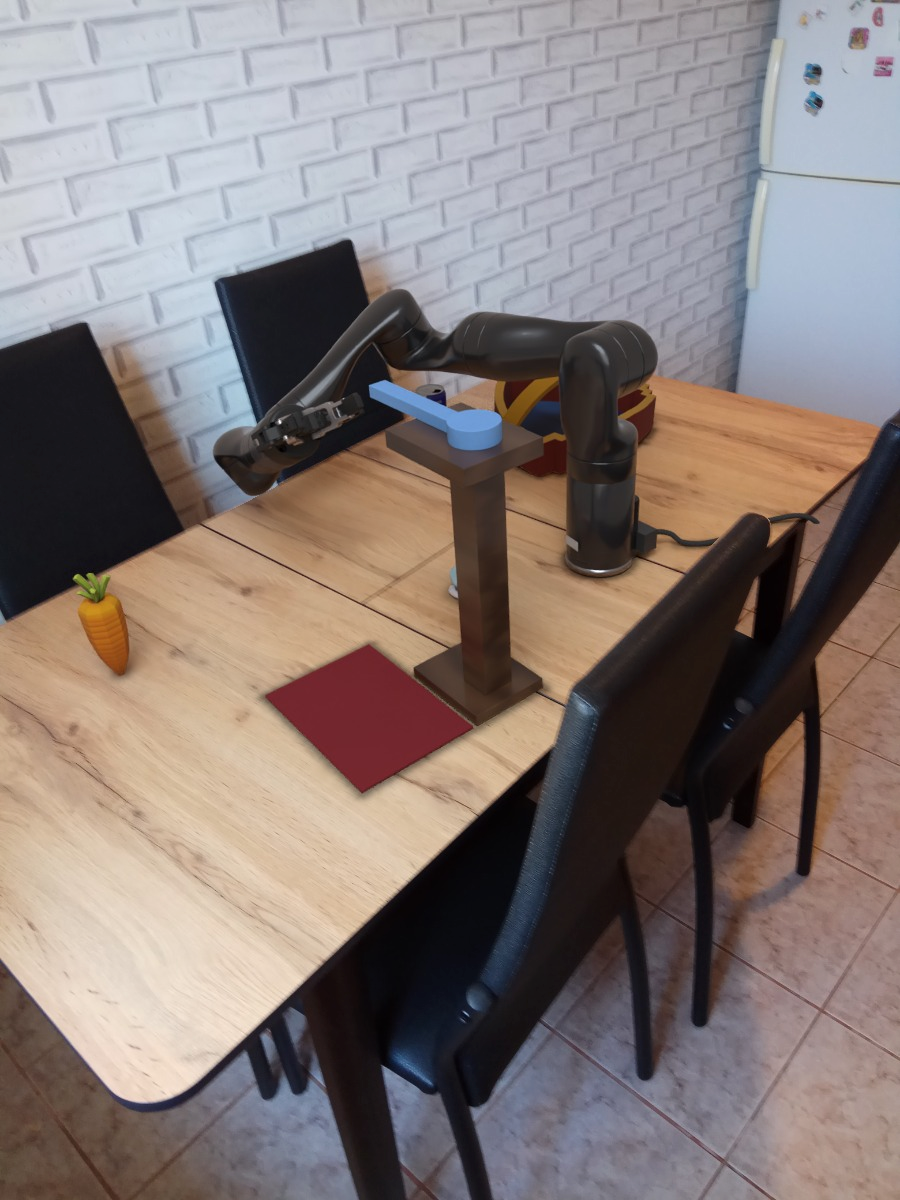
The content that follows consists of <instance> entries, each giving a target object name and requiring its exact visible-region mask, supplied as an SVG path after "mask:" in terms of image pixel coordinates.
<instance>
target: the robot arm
mask: <svg viewBox="0 0 900 1200" xmlns="http://www.w3.org/2000/svg"><path fill="white" fill-rule="evenodd" d="M371 344H372V345H373V346H374V347H375V349H376V351H377V353H378V354H379V355H380V357H381V359H382V360H383V361H384V362H385V363H386V364H387V365H388V366H389V367H390V368H392V369H395V370H398V371H406V372H440V373H448V374H454V375H455V374H457V375H464V376H469V377H470V376H471V377H474V378H479V379H485V380H491V381H494V382H495V381H496V382H497V381H504V382H517V381H528V380H537V379H544V378H551V377H558V381H559V400H560V419H561V425H562V429H563V432H564V435H565V437H566V442H567V454H566V472H565V473H566V475H565V477H566V479H565V480H566V481H565V486H566V487H565V488H566V489H565V492H566V493H565V494H566V495H565V496H566V497H565V551H564V561H565V564H566V566H567V567H568V568H569V569H571V570H572V571H573V572H575V573H577V574H578V575H579V574H580V575H583V576H586V577H595V578H605V577H606V578H607V577H612V576H616V575H620V574H622V573H624V572H625V571H627V570H629V568H630V567H631V565H632V564H633V559H634V558H636V557H637V554H638V553H637V552H639V553H641V554H642V555H645V554H648V553H649V552H651V551H654V550H655V549H656V548H657V542H658V541H657V539H658V535H661V536H667V537H670V538H672V539H673V540H674V541H675V542H676V543H677V544H678V545H681V546H686V547H696V548H697V547H707V546H712V544H713V543H714V542H715V541H716V540H717V539H718V538H719V537H716V538H711V539H705V540H690V539H689V540H688V539H683V538H681V537H680V536H679V535H678V534H677V533H675V532H674V531H672V530H669V529H664V528H656V527H654V526H652V525H650V524H647V523H646V522H643V521H642V520H639V516H640V501H641V500H640V496H639V495H638V494H636V483H637V462H638V448H639V447H638V446H639V442H638V431H637V429H636V427H635V426H634V425H633V424H632V423H631V422H629V421H627V420H624V419H622V418H618V399H619V398H621V397H623V396H625V395H627V394H630V393H632V392H634V391H636V390H637V389H639V388H640V387H641V386H643V385H644V384H645V383H646V384H647V383H648V382H649V380H650V379H652V377H653V375H654V374H655V371H656V370H657V367H658V363H659V353H658V352H659V351H658V348H657V346H656V343H655V341H654V339H653V338H652V336H651V335H650V334H649V333H648V332H647V331H646V330H645V329H644V328H643V327H641V326H640V325H638V324H637V323H635V322H633V321H629V320H626V319H607V320H591V321H588V320H587V321H586V320H585V321H567V320H559V319H553V318H552V319H551V318H546V317H538V316H529V315H520V314H513V313H507V312H498V311H475V312H473V313H470V314H468V315H467V316H465V317H463V318H462V319H461V320H460V321H459V322H457V324H456V325H455V326H454V327H453V328H452V330H451V331H450V332H448V333H447V332H443V331H439V330H437V329H435V328H434V326H432V324H431V323H430V322H429V319H428V318H427V316H426V315H425V313H424V311H423V310H422V308H421V307H420V305H419V303H418V302H417V300H416V298H415V297H414V295H413V294H412V293H411V292H410V291H409V290H407V289H404V288H395V289H394V288H393V289H390V290H387V291H386V292H383V293H382V294H381V295H379V296H377V297H376V298H375V299H374V300H373V301H371V302H370V303H369V304H368V306H366V308H364V310H362V311H361V313H359V315H358V316H357V318H355V320H354V321H353V322H352V323H351V324H350V325H349V327H348V328H347V329H346V330H345V331H344V332H343V333H342V335H340V337H339V338H338V339H337V341H336V342H335V343H334V344H333V345H332V347H331V349H329V350H328V352H327V353H326V354H325V356H323V357H322V359H321V360H320V362H318V364H317V365H316V366H315V367H314V368H313V369H312V371H310V372H309V373H308V374H307V376H306V377H304V378H303V380H301V382H300V383H298V384H297V385H296V386H295V387H294V388H292V389H291V390H290V391H289V392H287V394H286V395H285V396H283V397H282V398H281V399H280V400H279V401H277V403H276V404H275V405H273V406H272V407H271V408H270V409H268V411H267V412H266V413H265V415H264V417H263V418H262V419H260V421H258V422H257V424H256V425H255V426H253V425H242V426H237V427H233V428H231V429H229V430H226V431H225V432H224V433H222V434H221V435H220V436H219V437H218V438H217V440H215V442H214V445H213V448H212V456H213V459H214V462H215V463H216V464H217V465H218V466H219V467H220V469H221V470H222V471H223V472H224V473H225V474H226V475H227V477H229V478H230V479H231V480H232V481H233V482H234V483H235V485H236V486H237V487H238V489H240V490H241V491H242V492H243V493H244V494H245V495H247V496H250V497H258V496H261V495H263V494H265V493H267V492H268V491H270V489H271V488H272V487H273V486H274V484H275V483H276V481H277V480H278V479H279V476H280V475H281V473H282V472H283V470H284V469H287V468H291V467H293V466H294V465H296V464H299V463H300V462H302V461H304V460H307V458H309V457H311V456H313V454H315V453H316V451H317V450H318V449H319V446H320V444H321V440H322V437H324V436H325V435H326V433H329V432H330V431H334V430H336V429H337V428H340V427H341V426H344V425H346V424H347V423H348V422H350V421H352V420H354V419H356V418H358V417H360V416H363V414H365V410H364V406H365V404H364V402H363V399H362V396H361V395H360V394H359V393H358V392H354V393H351V394H349V395H347V396H346V397H343V395H344V393H345V390H346V387H347V383H348V381H349V378H350V376H351V374H352V372H353V369H354V367H355V366H356V363H357V361H358V360H359V358H360V357H361V355H362V354H363V353H364V352H365V350H367V348H368V347H369V346H370V345H371ZM767 518H768V519H769V520H770V522H771V523H770V524H772V523H776V522H781V521H787V520H792V519H803V520H806V521H809V522H811V523H812V524H814V525H819V524H820V523H821V522H820V521H819V520H818V519H817V518H816V517H814V516H812V515H811V514H808V513H804V512H791V513H784V514H781V515H775V516H771V517H767ZM713 545H714V544H713Z"/></svg>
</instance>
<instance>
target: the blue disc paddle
mask: <svg viewBox="0 0 900 1200" xmlns="http://www.w3.org/2000/svg"><path fill="white" fill-rule="evenodd" d="M368 390H369V397H370V398H371V399H373V400H376V401H377V402H380V403H382V404H383V405H386V406H388V407H390V408H392V409H395V410H397V411H399V412H401V413H403V414H405V415H408V416H409V417H412V418H414V419H418V420H420V421H422V422H424V423H427V424H429V425H431V426H433V427H435V428H437V429H439V430H442V431H444V432H446V433H447V439H448V443H449V444H450V445H451V446H452V447H454V448H457V449H461V450H471V451H473V450H483V449H488V448H491V447H493V446H496V445H497V444H499V443H500V442H501V440H502V418H501V416H500V415H499V414H497V413H496V412H494V410H488V409H481V408H479V409H478V408H476V409H473V410H465V411H461V412H457V411H455V410H452V409H450V408H448V407H449V406H447V407H446V406H443V405H441V404H439V403H436V402H434V401H432V400H430V399H427V398H425V397H423V396H420V395H418V394H416V393H415V392H413V391H411V390H410V389H407V388H404V387H402V386H400V385H398V384H395V383H393V382H390V381H389V380H386V379H384V380H380V381H377V382H375V383H371V384H369V385H368Z"/></svg>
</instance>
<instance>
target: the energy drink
mask: <svg viewBox="0 0 900 1200" xmlns="http://www.w3.org/2000/svg"><path fill="white" fill-rule="evenodd" d="M414 393H416V394H418V395H420V396H423V397H425V398H427V399H430V400H432V401H434V402H436V403H439V404H441V405H443V406H446V407H448V402H447V391H446V389H445V387H444V386H443V385H442V384H437V383H427V384H422V385H420V386H417V387H416V388H415V392H414Z"/></svg>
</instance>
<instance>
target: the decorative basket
mask: <svg viewBox="0 0 900 1200" xmlns="http://www.w3.org/2000/svg"><path fill="white" fill-rule="evenodd" d="M494 388H495V389H494V395H493V397H494V398H493V399H494V402H493V403H494V405H493V407H494V408H493V412H496V413H497V414H499V415H500V416H501V418H502V420H504V421H506V422H509V423H511V424H513V425H516V426H518V427H520V428H523V429H525V430H528V431H530V432H532V433H535V434H537V435H539V436H542V437H543V456H541V457H539V458H536V459H534V460H531V461H529V462H527V463H524V464H522V465H520V466H519V467H520V468H521V469H523V470H524V471H526V472H528V473H529V474H531V475H533V476H536V477H537V478H541V477H543V476H546V475H548V474H551V473H555V474H558V475H560V474H564V473H566V454H567V442H566V437H565V435H564V432H563V429H562V425H561V419H560V400H559V381H558V377H551V378H544V379H537V380H528V381H517V382H504V381H496V383H495V387H494ZM656 402H657V395H655V394H653V389H650V383H647V382H646V383H645V384H644V385H643V386H641V387H640V388H639V389H637V390H636V391H634V392H632V393H630V394H627V395H625V396H623V397H621V398H619V399H618V418H622V419H624V420H627V421H629V422H631V423H632V424H633V425H634V426H635V427H636V429H637V431H638V443H640V442H641V441H642V440H643V439H644V438H645V437H646V436H647V435H648V434H649V433H650V432H651V430H652V429H653V427H654V418H655V410H656Z"/></svg>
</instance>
